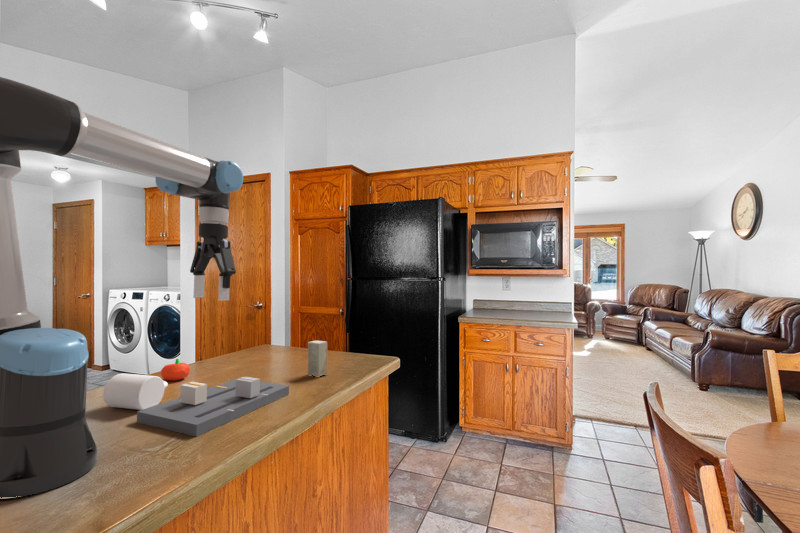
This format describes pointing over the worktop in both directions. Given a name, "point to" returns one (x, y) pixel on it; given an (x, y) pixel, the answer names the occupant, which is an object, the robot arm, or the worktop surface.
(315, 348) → the box
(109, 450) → the worktop surface
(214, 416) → the console
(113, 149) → the robot arm
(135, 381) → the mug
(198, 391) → the fader
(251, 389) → the fader
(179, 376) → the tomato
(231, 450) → the worktop surface
